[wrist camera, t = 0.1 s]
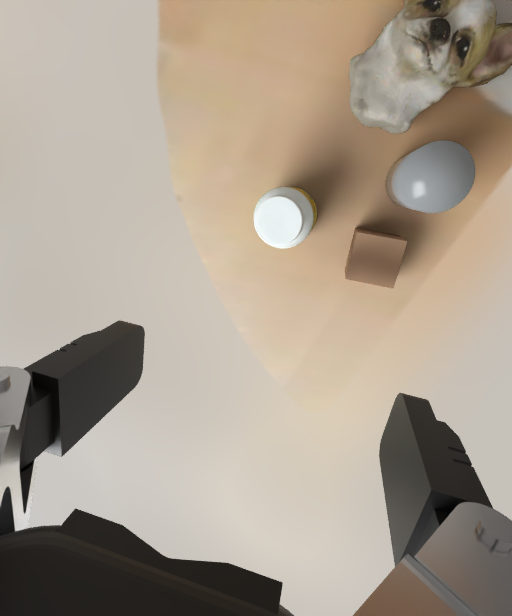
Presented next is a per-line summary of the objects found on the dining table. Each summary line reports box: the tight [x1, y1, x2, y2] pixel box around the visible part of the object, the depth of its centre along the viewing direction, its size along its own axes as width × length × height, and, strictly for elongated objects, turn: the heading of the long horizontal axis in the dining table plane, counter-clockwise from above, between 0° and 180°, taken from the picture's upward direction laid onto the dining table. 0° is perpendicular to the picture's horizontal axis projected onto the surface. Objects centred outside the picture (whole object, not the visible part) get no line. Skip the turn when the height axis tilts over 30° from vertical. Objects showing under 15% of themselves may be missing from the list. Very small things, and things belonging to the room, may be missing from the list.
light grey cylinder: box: [386, 140, 475, 213], centre depth 30 cm, size 5×5×9 cm
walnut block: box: [345, 228, 408, 288], centre depth 35 cm, size 4×4×4 cm
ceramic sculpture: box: [349, 0, 512, 134], centre depth 28 cm, size 11×9×15 cm
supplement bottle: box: [254, 187, 317, 249], centre depth 33 cm, size 5×5×10 cm
